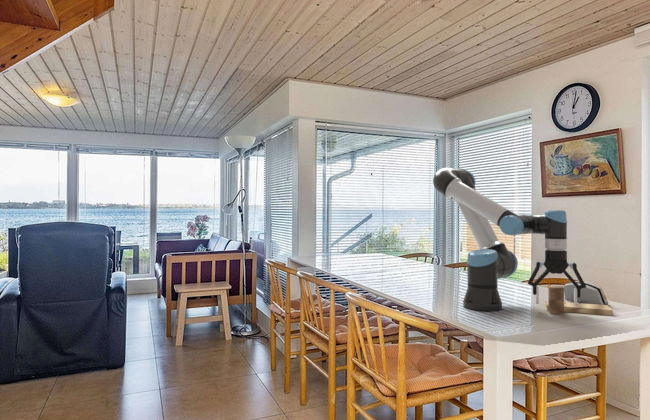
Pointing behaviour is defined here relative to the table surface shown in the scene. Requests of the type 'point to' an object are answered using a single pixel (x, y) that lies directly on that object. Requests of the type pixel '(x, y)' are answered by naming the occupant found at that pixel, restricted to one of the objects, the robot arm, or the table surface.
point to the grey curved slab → (586, 293)
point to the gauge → (556, 299)
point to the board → (585, 308)
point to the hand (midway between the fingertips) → (556, 304)
